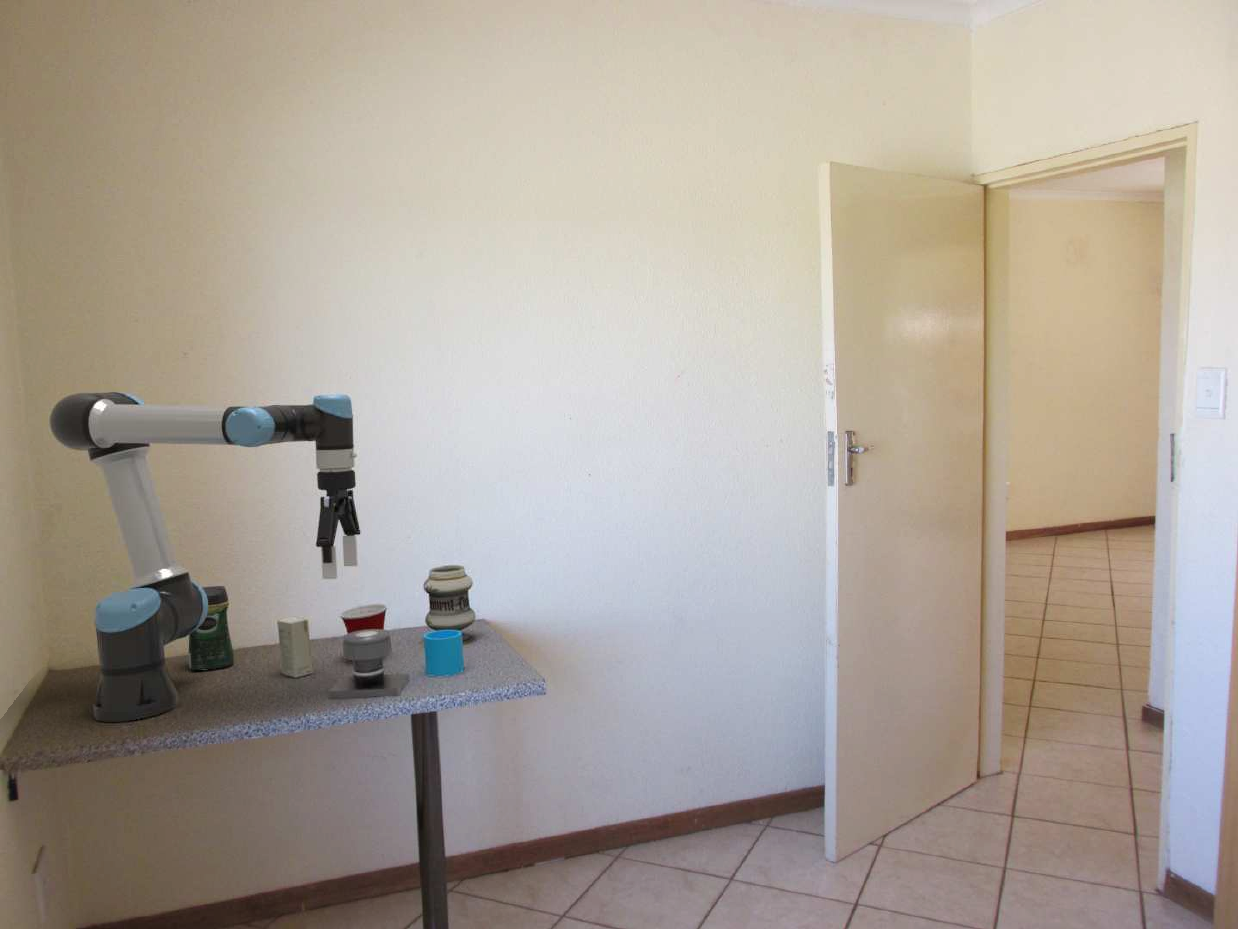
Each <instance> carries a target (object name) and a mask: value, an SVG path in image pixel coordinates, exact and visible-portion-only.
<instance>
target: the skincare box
mask: <svg viewBox="0 0 1238 929" xmlns="http://www.w3.org/2000/svg"><path fill="white" fill-rule="evenodd" d="M309 628H310V627H309V620H308V618H302V617H298V616H297V617H296V616H292V617H287V618H283V619H279V620H277V630H278V642H279V653H280V661H281V662H280V663H281V672H282V675H285V676H288V677H292V678H300V677H303V676H307V675H311V674H313V673H314V672H313V670H314V669H313V660H312V650H311V639H310V629H309Z"/></svg>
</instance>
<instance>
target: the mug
mask: <svg viewBox="0 0 1238 929" xmlns="http://www.w3.org/2000/svg"><path fill="white" fill-rule="evenodd" d="M462 633H463V632H462V630H460V631H458V630H440V631H436V630H434V631H430V632H427V633H425V634H424V635H423V646H424V650H423V651H424V662H425V674H426V675H427V676H429V675H433V676H445V675H452V676H455V675H454V674H456V675H458V674H457V673H459V672H461V671H462V670H463V669H464V670H465V660H464V647H463V645H464V644H463V643H462ZM461 673H462V672H461ZM459 674H460V673H459ZM433 676H432V677H433Z"/></svg>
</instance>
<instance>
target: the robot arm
mask: <svg viewBox="0 0 1238 929" xmlns="http://www.w3.org/2000/svg"><path fill="white" fill-rule="evenodd" d="M49 416H50V417H49V427H50V431H51V433H52V436H54V438H55V439H56V441H58V442H59V443H60V444H61V445H62V446H63V447H66V448H68V449H72V450H75V451H81V452H82V451H87V453H88V456H89V460H90V463H91V464H93V465H95V466H96V467H99V468H100V469H101V471H102V474H103V477H104V482H105V483H106V487H107V492H108V495H109V497H110V501H111V503H112V507H113V510H114V511H113V512H114V513H115V514H114V515H115V517H116V520H117V524H118V526H119V530H120V532H121V533H120V534H121V536H122V540H123V544H124V546H125V549H126V553H127V556H128V560H129V563H130V565H131V569H132V572H133V575H134V579H133V581H132V583H131V584H130V586H129V589H125V590H123V591H118V592H115V593H114V592H113V593H112V594H109V595H107V596H105V597H103V598H101V599H100V600H99V601H98V602H97V604H96V605H95V609H94V612H95V616H94V626H95V630H96V642H97V643H96V644H97V653H98V663H99V672H100V674H99V675H100V678H99V683H98V686H97V691H96V694H95V698H94V703H93V707H92V708H93V717H94V719H95V718H96V719H95V720H96V721H99V722H106V723H118V722H119V723H120V722H130V720H131V721H136V719H137V720H142V719H141V718H143V719H147V718H151V717H154V716H155V717H156V716H158V715H160V713H161V714H164V713H166V712H168V711H171V710H172V709H174V708H175V707H176V706H178V704H179V697H178V696H179V695H178V691H177V689H176V686H175V684H174V681H173V680H172V677H171V676H170V674H169V671H168V668H167V667H166V658H165V646H167V645H168V644H170V643H172V642H175V641H176V640H180V639H183V638H186V637H189V634H191V633H192V632H193V631H195V630H196V629H198V628H199V627H200V626H201V624H202V623H203V622H204V620H205V618H206V616H207V612H208V599H207V596H206V593H205V592H204V590H203V589H202V586H201V585H198V584H197V583H196V582H195V581H193V580H192V579H191V576H190V573H189V571H188V569H187V568H184V567H183V566H180V565H179V564H178V561H177V560H178V559H177V558H176V554H175V551H174V547H173V545H172V540H171V537H170V534H169V531H168V528H167V524H166V521H165V517H164V515H163V511H162V508H161V505H160V502H159V499H158V498H159V497H158V495H157V492H156V488H155V485H154V482H153V477H152V476H151V472H150V468H149V464H148V462H147V459H146V458H147V455H148V453H149V452H150V450H151V448H152V447H151V444H154V445H155V444H160V445H161V444H164V445H209V446H210V445H211V446H212V445H215V446H216V445H220V446H221V445H222V446H223V445H224V446H225V445H226V446H240V447H242V448H243V447H245V448H257V447H261V446H265V445H275V444H282V443H283V444H284V443H291V442H292V443H293V442H297V443H298V442H314V443H315V464H316V469H317V470H319V471H318V472H317V473H316V477H317V478H316V480H317V488H318V489H319V490H320V491H326V494H325V495H326V496H321V497H320V499H319V500H320V502H319V504H320V505H319V506H320V508H319V509H320V510H319V517H318V527H317V536H316V542H315V546H316V547H317V548H320V551H321V552H320V553H321V572H322V580H337V579H338V566H337V548H336V546H337V545H335V538H336V535H337V530H338V525H339V523H340V526H341V528H342V531H343V535H342V550H343V552H342V553H343V554H342V555H343V567H358V547H357V546H358V545H357V544H358V542H357V536H359V535H361V529H360V523H359V519H358V514H357V510H356V509H357V508H356V505H355V500H354V490H353V489H354V488H355V487H356V486H357V485H356V472H355V470H354V469H353V468H355V466H356V465H355V459H356V458H357V453H355V445H354V414H353V405H352V399H351V397H350V396H349V395H348V394H317V395H314V396H313V402H312V404H306V405H305V404H304V405H303V404H296V405H295V404H271V405H270V404H269V405H265V406H264V405H263V406H230V405H228V406H226V405H225V406H224V405H217V406H216V405H179V404H178V405H172V404H169V405H168V404H167V405H166V404H162V405H161V404H146V403H145V402H144V401H143V400H141V399H140V398H139V397H137V396H135V395H132V394H129V393H125V392H119V391H109V392H88V393H87V392H81V393H80V392H78V393H73V394H70V395H67V396H65V397H63V398H61V400H59V401H58V402H56V403H55V405H54V406H53V408H52V410H51V413H50V415H49ZM175 705H176V706H175ZM174 706H175V707H174ZM173 707H174V708H173ZM170 709H171V710H170ZM165 711H166V712H165ZM163 712H164V713H163Z"/></svg>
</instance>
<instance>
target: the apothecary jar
mask: <svg viewBox="0 0 1238 929" xmlns="http://www.w3.org/2000/svg"><path fill="white" fill-rule="evenodd" d="M465 570H466V569H465V566H464V565H459V564H454V565H452V564H450V565H440V566H437V567H436V566H435V567H433V568H431V569H429V570H428V572H429V573H428V577H427V579H426V580H424V582H423V590H424V592H425V593H426V594H428V600H429V601H428V602H429V603H428V604H429V611H428V612H427V614H426V616H425V619H424V621H425V624H426V626H427V627H428V628H430V629H431V630H434V631H440V630H458V631H463V630H465V629H467V628H468V627H470V626H472V625H473V623H474V622H475V621H476V617H477V616H476V612H475V611H474V610H473V609H472V608H471V607H470V599H469V598H470V597H469V590H471V588H472V587H473V579H472V578H471V576H469V575H468V574H466V573H467V572H465ZM472 640H473V637H472V636H471V635H470V634H468V633H465V632H462V643H463V645H465V644H468V643H470V642H472Z"/></svg>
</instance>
